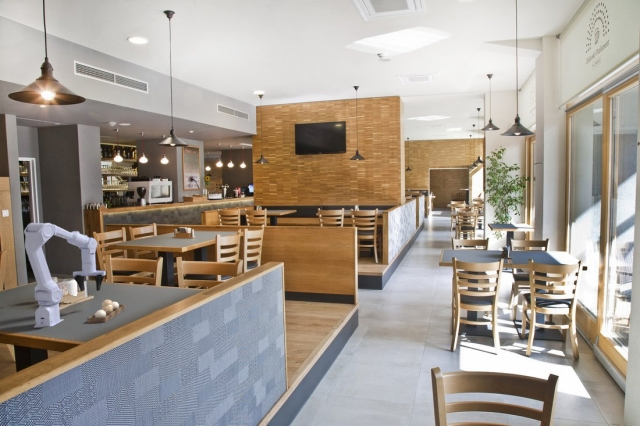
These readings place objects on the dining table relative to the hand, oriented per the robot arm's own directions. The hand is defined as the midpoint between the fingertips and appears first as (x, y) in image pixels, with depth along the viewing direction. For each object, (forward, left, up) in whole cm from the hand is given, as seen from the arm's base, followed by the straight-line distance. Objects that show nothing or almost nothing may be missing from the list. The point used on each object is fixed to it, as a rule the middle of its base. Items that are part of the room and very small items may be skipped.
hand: (90, 290), depth 211 cm
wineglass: (+20, +30, -10) cm, 37 cm away
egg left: (-19, -13, -9) cm, 24 cm away
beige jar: (-12, -13, -9) cm, 20 cm away
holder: (-12, -13, -9) cm, 20 cm away
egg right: (-5, -13, -9) cm, 17 cm away
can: (+16, +18, -10) cm, 26 cm away
